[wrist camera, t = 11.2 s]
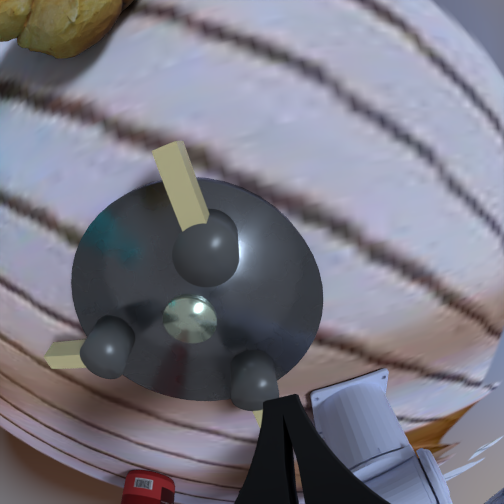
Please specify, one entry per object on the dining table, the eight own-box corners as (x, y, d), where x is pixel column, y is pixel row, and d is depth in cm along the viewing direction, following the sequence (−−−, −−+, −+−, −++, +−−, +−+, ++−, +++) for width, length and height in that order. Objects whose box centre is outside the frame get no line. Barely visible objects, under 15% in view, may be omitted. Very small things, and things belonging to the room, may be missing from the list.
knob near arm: (225, 354, 20) (224, 387, 17) (268, 345, 20) (274, 377, 17) (248, 410, 22) (251, 439, 19) (284, 402, 22) (290, 431, 19)
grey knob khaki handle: (124, 312, 18) (109, 340, 15) (142, 347, 19) (131, 377, 16) (53, 323, 18) (35, 347, 15) (72, 354, 19) (57, 379, 16)
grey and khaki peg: (245, 252, 17) (248, 276, 14) (194, 268, 17) (187, 294, 14) (204, 134, 14) (197, 132, 11) (150, 156, 14) (131, 160, 12)
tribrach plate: (327, 363, 23) (334, 380, 21) (139, 397, 24) (135, 413, 22) (292, 145, 17) (299, 146, 15) (47, 222, 17) (31, 231, 15)
